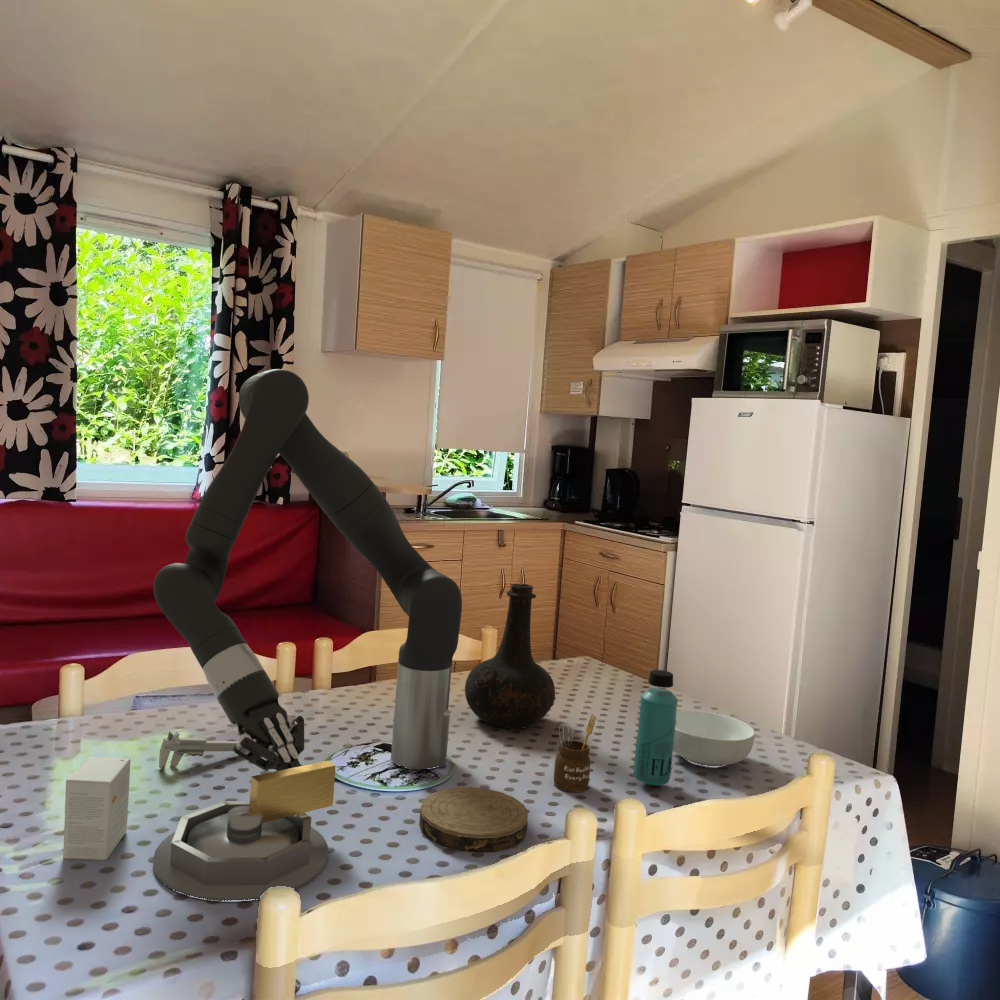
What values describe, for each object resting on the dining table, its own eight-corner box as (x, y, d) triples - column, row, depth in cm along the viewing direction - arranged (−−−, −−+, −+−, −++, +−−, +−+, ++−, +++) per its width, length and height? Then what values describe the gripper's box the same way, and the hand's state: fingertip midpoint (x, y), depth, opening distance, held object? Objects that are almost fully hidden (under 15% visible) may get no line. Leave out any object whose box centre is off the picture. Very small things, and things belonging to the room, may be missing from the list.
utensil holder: (546, 780, 151) (553, 711, 150) (579, 777, 154) (586, 709, 153) (562, 794, 146) (569, 723, 145) (596, 791, 148) (603, 721, 147)
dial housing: (328, 819, 130) (330, 792, 130) (326, 900, 108) (329, 869, 108) (170, 819, 126) (171, 791, 125) (135, 904, 104) (137, 871, 104)
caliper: (161, 773, 141) (163, 734, 141) (158, 770, 142) (160, 732, 142) (278, 749, 155) (280, 714, 155) (275, 747, 156) (277, 712, 155)
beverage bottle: (646, 796, 148) (658, 678, 146) (623, 780, 154) (634, 667, 152) (677, 791, 151) (690, 676, 149) (653, 776, 157) (665, 665, 155)
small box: (85, 830, 121) (88, 755, 120) (127, 832, 121) (131, 757, 120) (61, 859, 113) (64, 779, 112) (106, 861, 113) (110, 781, 112)
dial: (213, 887, 107) (217, 813, 106) (170, 840, 118) (174, 772, 117) (353, 847, 120) (358, 780, 119) (303, 807, 130) (307, 746, 130)
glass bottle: (445, 714, 180) (456, 578, 178) (511, 702, 192) (523, 573, 189) (502, 743, 167) (515, 596, 164) (570, 728, 178) (583, 590, 176)
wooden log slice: (440, 861, 121) (442, 840, 121) (405, 811, 135) (406, 792, 135) (545, 848, 127) (546, 827, 127) (500, 801, 142) (502, 783, 142)
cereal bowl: (767, 764, 167) (771, 728, 167) (722, 786, 155) (727, 747, 154) (688, 737, 179) (691, 703, 178) (641, 755, 166) (645, 718, 166)
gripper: (221, 679, 121) (286, 791, 116) (286, 659, 132) (347, 760, 128) (190, 708, 123) (252, 818, 119) (256, 686, 135) (315, 785, 131)
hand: (301, 788), depth 124 cm, fingers closed
